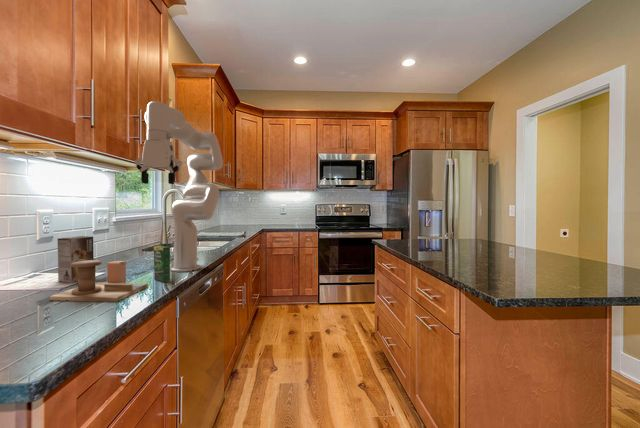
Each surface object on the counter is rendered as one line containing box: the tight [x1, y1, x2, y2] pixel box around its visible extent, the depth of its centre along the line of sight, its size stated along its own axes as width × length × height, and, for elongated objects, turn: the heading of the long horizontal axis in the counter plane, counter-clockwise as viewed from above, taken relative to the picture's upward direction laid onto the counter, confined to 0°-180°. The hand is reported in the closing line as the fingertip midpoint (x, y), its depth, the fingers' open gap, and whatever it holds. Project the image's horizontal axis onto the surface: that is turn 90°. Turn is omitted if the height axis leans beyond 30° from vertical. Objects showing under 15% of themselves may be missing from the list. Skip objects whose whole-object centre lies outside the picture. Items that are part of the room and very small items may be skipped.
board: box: [49, 281, 149, 303], centre depth 102 cm, size 17×20×3 cm
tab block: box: [107, 260, 127, 283], centre depth 113 cm, size 4×4×8 cm
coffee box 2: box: [153, 245, 171, 283], centre depth 120 cm, size 8×3×13 cm, turn 51°
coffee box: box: [57, 235, 95, 283], centre depth 119 cm, size 9×6×16 cm
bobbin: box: [71, 259, 103, 295], centre depth 99 cm, size 8×8×9 cm
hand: (158, 183), depth 116 cm, fingers open, 9 cm apart
